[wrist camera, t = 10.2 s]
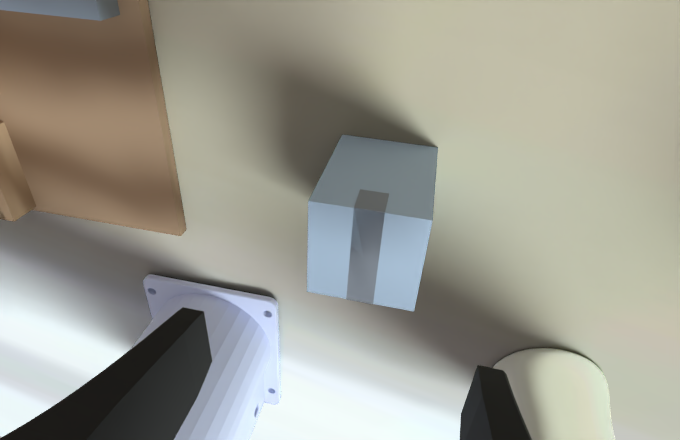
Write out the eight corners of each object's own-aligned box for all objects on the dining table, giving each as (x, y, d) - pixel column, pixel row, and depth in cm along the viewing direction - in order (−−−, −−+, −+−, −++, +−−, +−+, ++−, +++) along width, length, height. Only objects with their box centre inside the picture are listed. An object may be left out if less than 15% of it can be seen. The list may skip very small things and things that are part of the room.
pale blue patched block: (422, 227, 21) (413, 312, 17) (337, 213, 22) (307, 292, 17) (438, 146, 19) (432, 220, 14) (342, 133, 19) (308, 200, 15)
